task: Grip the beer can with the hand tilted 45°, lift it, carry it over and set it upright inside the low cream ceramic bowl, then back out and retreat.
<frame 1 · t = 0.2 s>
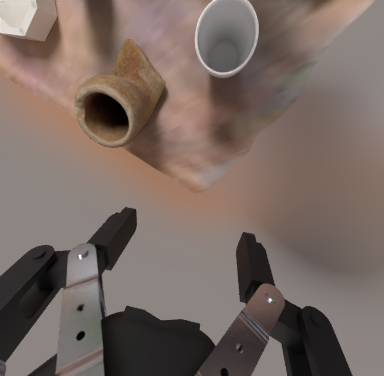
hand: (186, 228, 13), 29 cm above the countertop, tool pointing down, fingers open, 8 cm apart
drinking glass: (224, 60, 31), on the countertop
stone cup: (140, 97, 36), on the countertop
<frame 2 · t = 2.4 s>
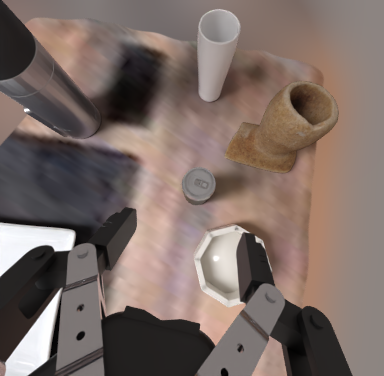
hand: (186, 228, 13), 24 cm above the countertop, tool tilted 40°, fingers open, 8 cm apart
square plate: (8, 289, 35), on the countertop
drinking glass: (209, 93, 42), on the countertop
beer can: (196, 193, 38), on the countertop
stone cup: (260, 146, 40), on the countertop
cream bowl: (228, 259, 36), on the countertop
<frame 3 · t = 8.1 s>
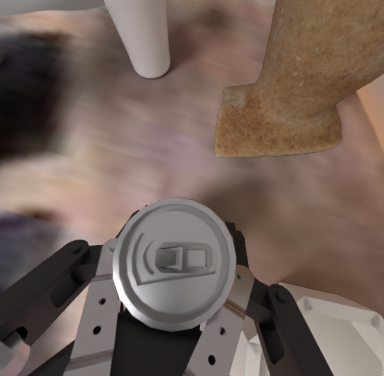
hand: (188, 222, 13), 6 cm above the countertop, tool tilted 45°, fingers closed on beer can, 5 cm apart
drinking glass: (152, 67, 25), on the countertop
beer can: (186, 242, 19), on the countertop, touching gripper
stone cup: (267, 120, 22), on the countertop
cream bowl: (305, 369, 16), on the countertop
when the fingers open (8 cm above the countertop, at t = 14.0 s): beer can drops 1 cm, resting on cream bowl.
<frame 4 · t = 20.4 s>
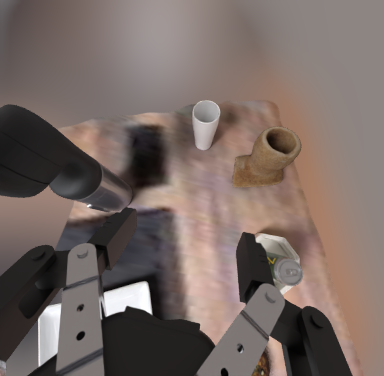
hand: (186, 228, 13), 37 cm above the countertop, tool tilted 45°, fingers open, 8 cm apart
square plate: (106, 350, 42), on the countertop
drinking glass: (203, 143, 55), on the countertop
beer can: (265, 261, 45), point 1 cm above the countertop, touching cream bowl
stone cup: (254, 169, 53), on the countertop
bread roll: (242, 360, 41), on the countertop
cream bowl: (264, 260, 46), on the countertop
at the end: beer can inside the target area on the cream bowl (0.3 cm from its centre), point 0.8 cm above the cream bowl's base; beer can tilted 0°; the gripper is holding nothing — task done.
